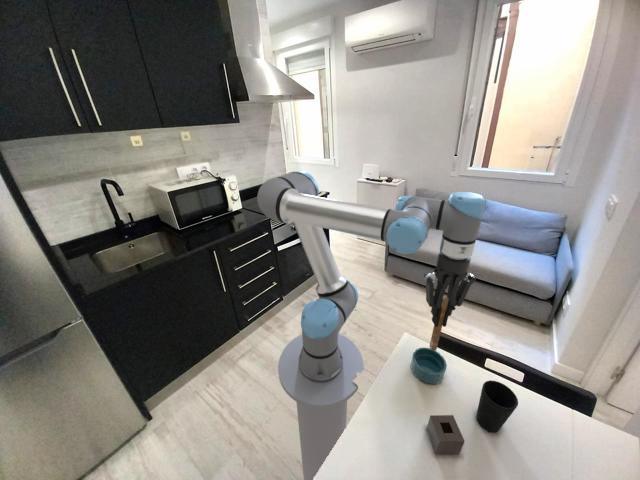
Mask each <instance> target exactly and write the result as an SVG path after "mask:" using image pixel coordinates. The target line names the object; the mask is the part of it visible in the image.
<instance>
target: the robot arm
mask: <svg viewBox="0 0 640 480" xmlns="http://www.w3.org/2000/svg"><path fill="white" fill-rule="evenodd" d="M319 192H320V189H319V185H318V182H317V180H316V179H315V177H314V176H313V175H312V174H310V173H309V172H307V171H303V170H296V171H289V172H288V173H285V174H281V175H279V176H276V177H272V178H269V179H267V180H265V181H264V182H263V183H262V184H261V186H259V189H258V192H257V195H256V200H257V205H258V208H259V210H260V211H261V213H262V214H263V215H264V216H265V217H267V218H269V219H270V220H273V221H275V222H278V223H283V224H288V225H290V224H293V227H294V229H295V231H296V234H297V236H298V239H299V241H300V244H301V246H302V248H303V251H304V253H305V257H306V258H307V261H308V263H309V265H310V268H311V270H312V273H313V275H314V278H315V281H316V282H317V285H316V287H315V292H316V294H317V296H318V298H316V299H315V300H310V301H309V302H308V303H306V305H305V306H304V307H303V309H302V311H301V315H300V316H301V318H300V327H301V335H302V338H303V347H302V350H301V353H300V355H299V368H300V371H301V373H302V374H303V375H304V376H305V377H306V378H307V379H309V380H311V381H314V382H327V381H330V380H332V379H334V378H335V377H337V376H338V375H339V373H340V372H341V370H342V366H343V357H342V353H341V351H340V349H339V346H338V333H339V334H340V331H341V329H342V328H343V326H344V325H345V324H346V322H347V320H348V319H349V317H350V316H351V314H352V312H353V311H354V310H355V309H356V307H357V303H358V302H359V292H358V289H357V287H356V286H355V284H354V283H351V281H350V280H349V279H347V277H346V276H344V275H341V273H340V270H339V267H338V265H337V262H336V260H335V257H334V254H333V251H332V249H331V247H330V244H329V241H328V238H327V236H326V233H325V231H324V229H326V230H331V231H336V232H341V233H344V234H345V233H346V234H350V235H355V236H358V237H363V238H367V239H371V240H376V241H381V242H385V243H387V245H388V246H389V248H391V250H393V251H395V253H398V254H400V255H401V254H402V255H409V254H413V253H416V252H417V251H419V250H420V249H421V247H422V246H423V245H424V243H425V242H426V240H427V239H428V235H429V231H430V230H434V231H435V230H436V231H442V234H441V240H440V244H439V249H438V250H439V251H438V255H437V259H436V267H435V268H434V269H433V272H431V273H424V274H423V278H424V279H425V301H426V303H427V305H428V306H429V307H430V308H431V309H430V314H431V315H432V317H431V321H432V323H433V326H434V325H435V327H438V324H439V320H440V316H441V311H442V308H441V307H440V304H441V301H442V298H443V296H445V292H446V290H447V294H446V296H447V297H448V299H449V300H448V304H447V308H446V312H445V317H444V321H443V325H442V328H444V327H445V328H446V327H447V323H448V319H449V317H452V314H453V311H455V310H456V309H457V308H456V307H461V306H462V305H463V303H464V302H465V301H464V300H465V299H466V296H467V294H468V292H469V290H470V288H471V286H472V285H473V283H474V282H475V281H476V280H477V279H476V277H475V276H474V274H472V273H471V272H468V270H469V268H470V264H471V261H472V256H473V253H474V250H475V249H474V248H475V245H476V241H477V237H478V234H479V231H480V228H481V224H482V221H483V218H484V217H483V216H484V211H485V207H486V199H485V197H484V196H482V195H481V194H479V193H474V192H471V191H470V192H469V191H456V192H452V193H450V196H449V198H448V199H437V198H429V197H420V196H415V195H402V196H400V197H399V198H398V199H397V202H396V204H395V208H394V209H392V208H386V207H381V206H376V205H370V204H363V203H358V202H351V201H345V200H341V199H334V198H327V197H321V196H319V195H318V194H319ZM435 279H437V281H435ZM435 282H436V283H437V284H436V286H435V284H434V283H435ZM435 287H436V288H435Z"/></svg>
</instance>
